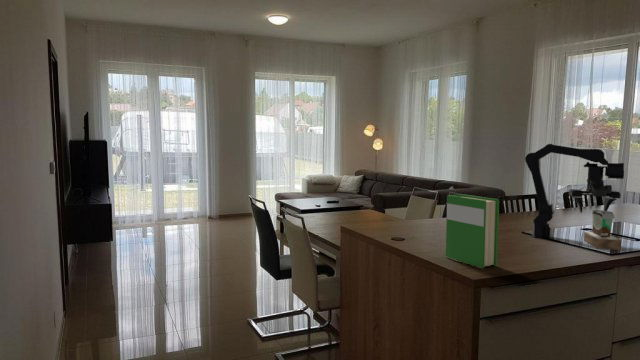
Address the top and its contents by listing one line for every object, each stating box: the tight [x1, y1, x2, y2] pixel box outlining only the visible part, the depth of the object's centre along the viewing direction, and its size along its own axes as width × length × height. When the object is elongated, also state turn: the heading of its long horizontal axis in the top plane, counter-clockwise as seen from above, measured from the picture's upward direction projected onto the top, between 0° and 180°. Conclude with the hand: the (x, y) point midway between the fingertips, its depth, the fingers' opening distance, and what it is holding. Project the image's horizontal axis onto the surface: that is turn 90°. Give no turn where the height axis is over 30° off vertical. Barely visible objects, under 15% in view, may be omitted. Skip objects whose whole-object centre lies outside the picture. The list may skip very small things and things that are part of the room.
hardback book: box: [445, 194, 500, 269], centre depth 165 cm, size 18×7×24 cm, turn 28°
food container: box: [591, 209, 615, 237], centre depth 191 cm, size 12×6×10 cm, turn 168°
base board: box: [583, 231, 622, 251], centre depth 192 cm, size 9×15×4 cm, turn 167°
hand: (592, 213), depth 198 cm, fingers open, 9 cm apart
